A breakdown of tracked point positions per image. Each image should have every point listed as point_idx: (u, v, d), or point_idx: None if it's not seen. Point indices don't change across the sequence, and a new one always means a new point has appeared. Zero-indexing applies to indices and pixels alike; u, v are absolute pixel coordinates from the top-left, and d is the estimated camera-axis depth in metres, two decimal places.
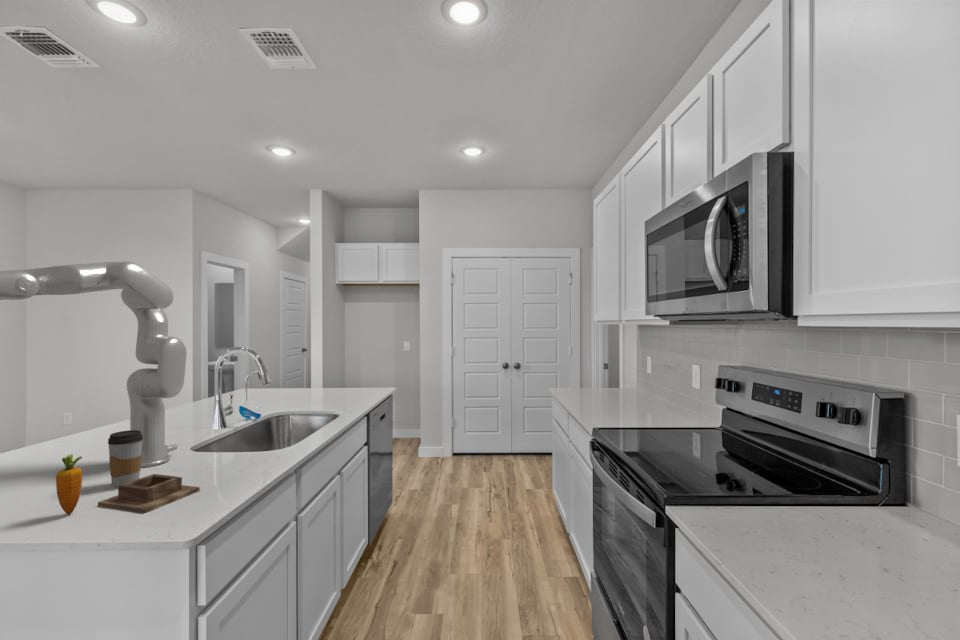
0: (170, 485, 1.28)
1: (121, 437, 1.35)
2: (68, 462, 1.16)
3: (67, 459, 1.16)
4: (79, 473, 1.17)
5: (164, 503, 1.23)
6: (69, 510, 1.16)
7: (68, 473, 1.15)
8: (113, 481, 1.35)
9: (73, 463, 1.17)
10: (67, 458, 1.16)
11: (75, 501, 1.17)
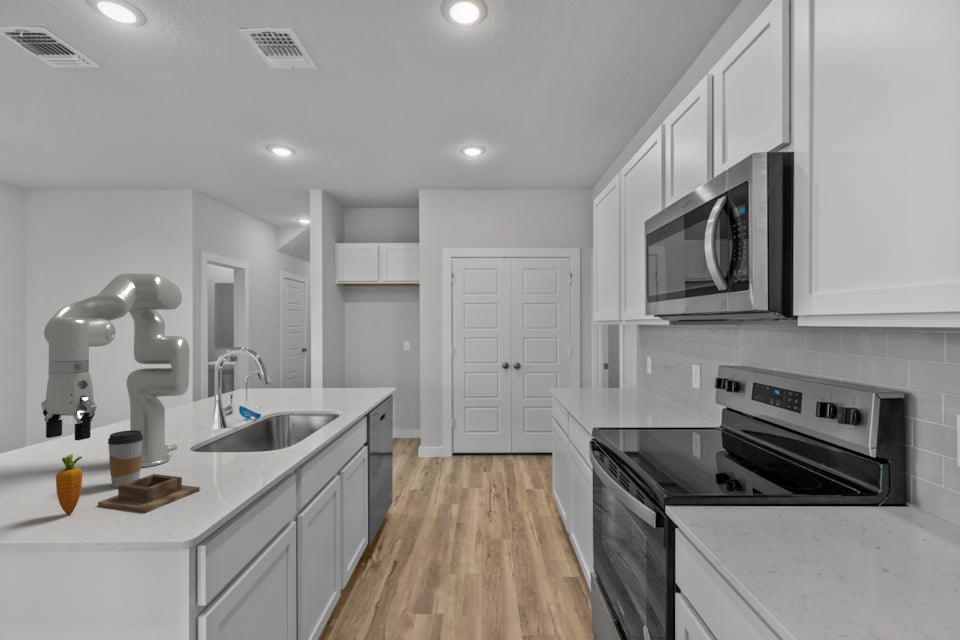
0: (170, 485, 1.28)
1: (121, 437, 1.35)
2: (68, 462, 1.16)
3: (67, 459, 1.16)
4: (79, 473, 1.17)
5: (164, 503, 1.23)
6: (69, 510, 1.16)
7: (69, 473, 1.15)
8: (113, 481, 1.35)
9: (73, 463, 1.17)
10: (67, 458, 1.16)
11: (75, 501, 1.17)
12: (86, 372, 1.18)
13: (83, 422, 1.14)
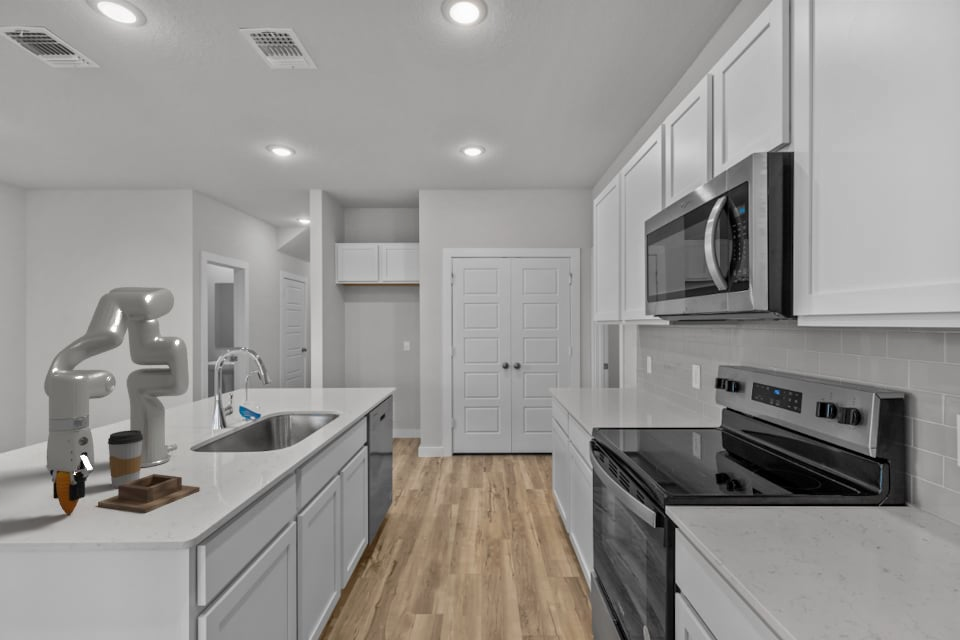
0: (170, 485, 1.28)
1: (121, 437, 1.35)
2: None
3: None
4: (79, 473, 1.17)
5: (164, 503, 1.23)
6: (69, 510, 1.16)
7: (68, 473, 1.15)
8: (113, 481, 1.35)
9: None
10: None
11: (75, 501, 1.17)
12: (86, 427, 1.18)
13: (77, 483, 1.15)
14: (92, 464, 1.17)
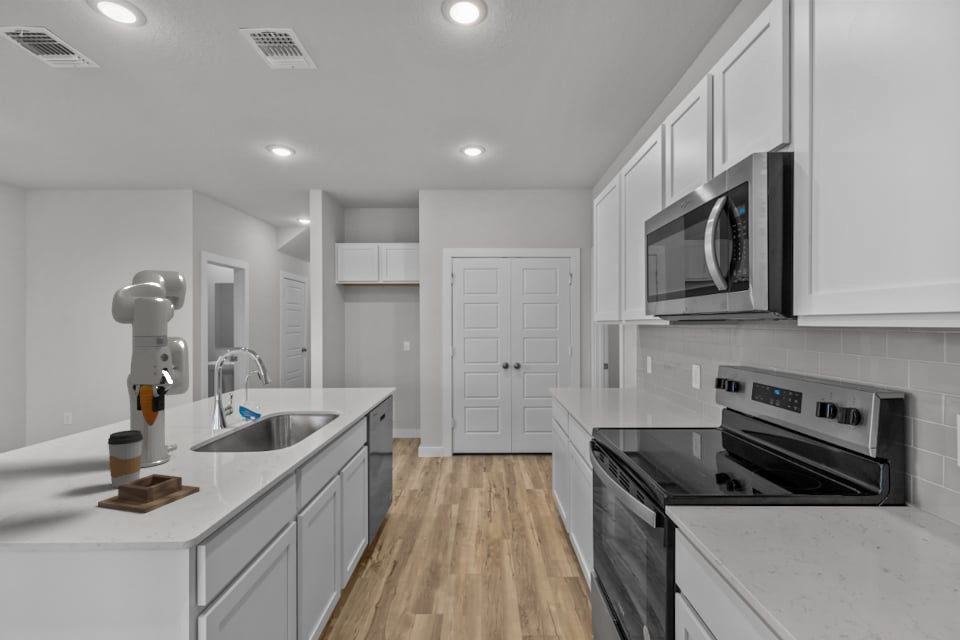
0: (170, 485, 1.28)
1: (121, 437, 1.35)
2: None
3: None
4: (159, 388, 1.28)
5: (164, 503, 1.23)
6: (151, 421, 1.27)
7: (151, 386, 1.26)
8: (113, 481, 1.35)
9: None
10: None
11: (156, 413, 1.28)
12: (166, 346, 1.29)
13: (159, 395, 1.26)
14: (171, 380, 1.28)
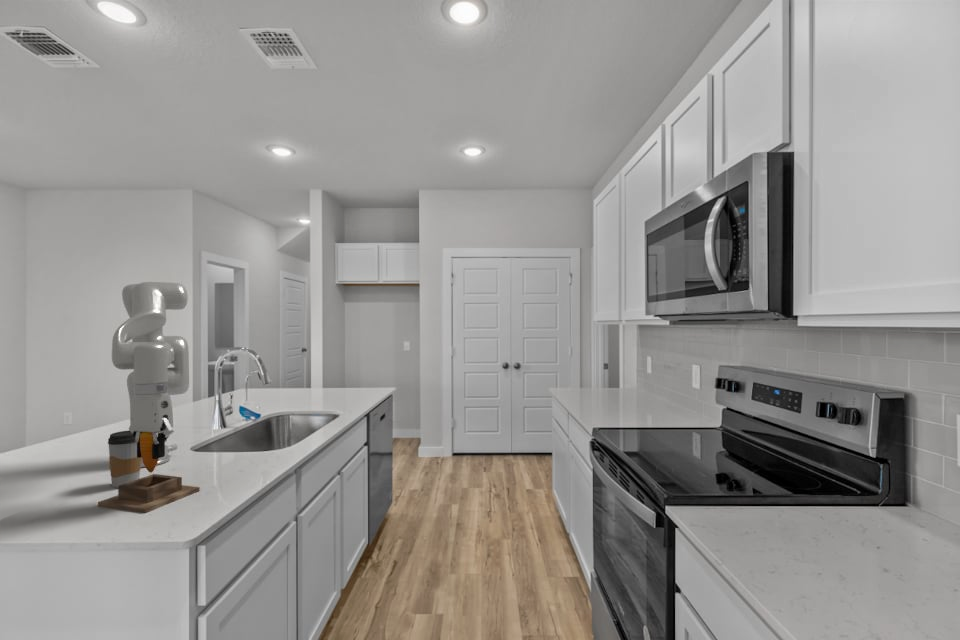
0: (170, 485, 1.28)
1: (121, 437, 1.35)
2: None
3: None
4: (159, 434, 1.28)
5: (164, 503, 1.23)
6: (151, 468, 1.27)
7: (151, 433, 1.26)
8: (113, 481, 1.35)
9: None
10: None
11: (156, 460, 1.28)
12: (166, 393, 1.29)
13: (159, 442, 1.26)
14: (171, 426, 1.28)
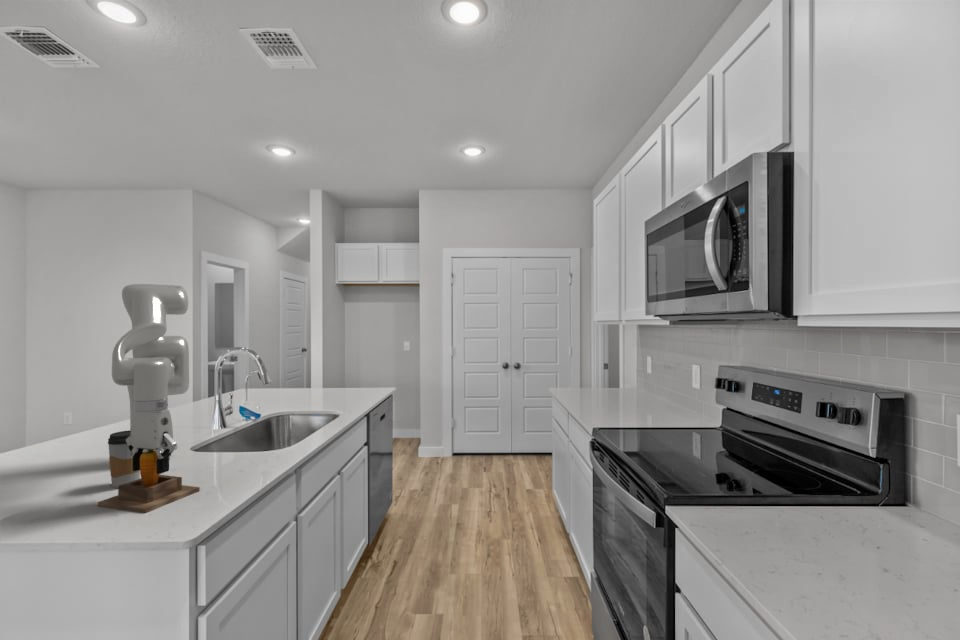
0: (170, 485, 1.28)
1: (121, 437, 1.35)
2: None
3: None
4: None
5: (164, 503, 1.23)
6: None
7: (151, 455, 1.27)
8: (113, 481, 1.35)
9: None
10: None
11: (156, 481, 1.28)
12: (166, 409, 1.29)
13: (164, 457, 1.26)
14: None
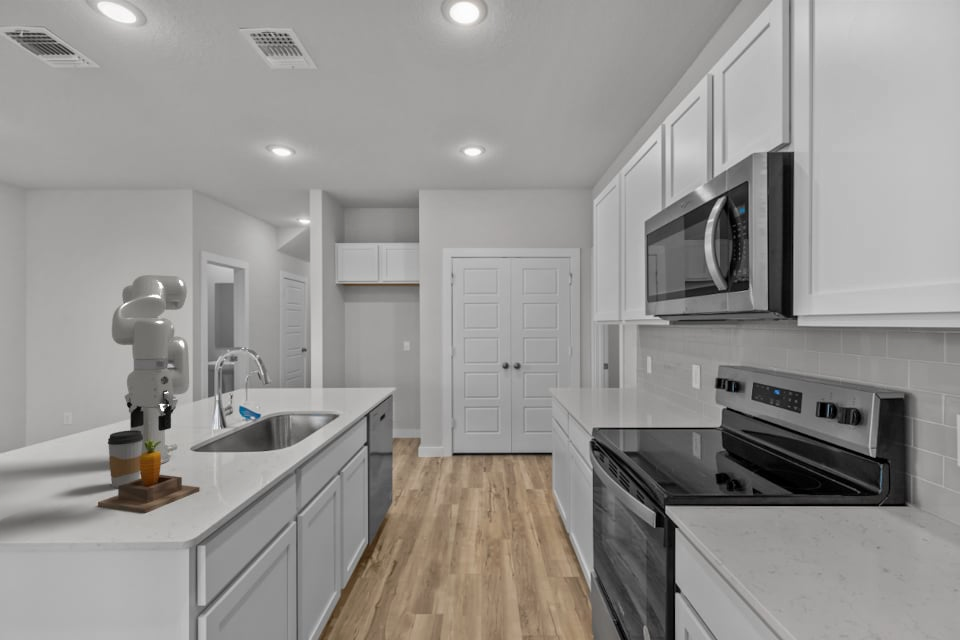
0: (170, 485, 1.28)
1: (121, 437, 1.35)
2: (150, 446, 1.27)
3: (150, 443, 1.27)
4: (159, 456, 1.28)
5: (164, 503, 1.23)
6: None
7: (151, 456, 1.26)
8: (113, 481, 1.35)
9: (154, 447, 1.28)
10: (150, 442, 1.27)
11: (156, 481, 1.28)
12: (166, 368, 1.29)
13: (166, 414, 1.26)
14: None
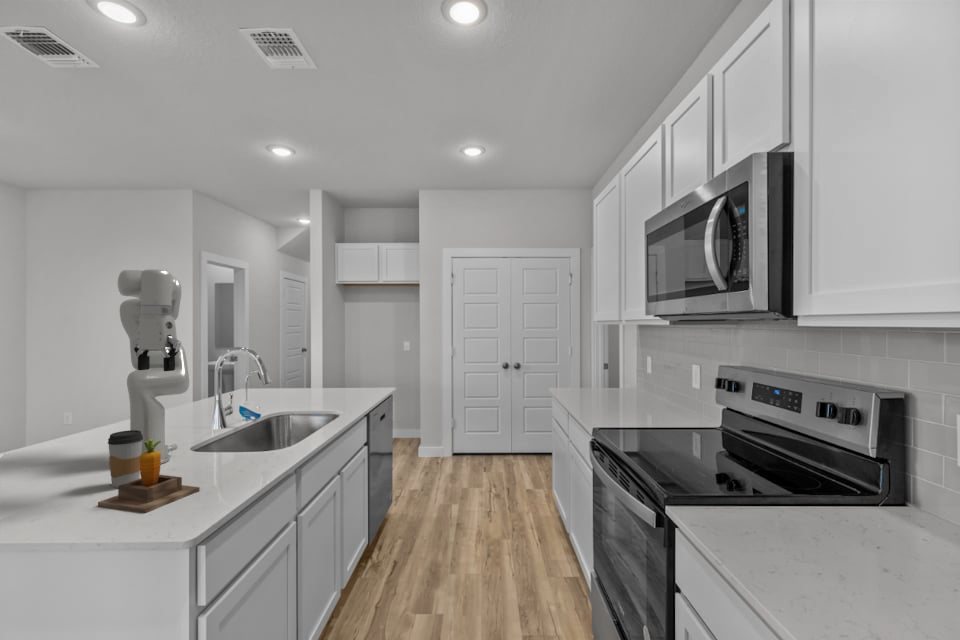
0: (170, 485, 1.28)
1: (121, 437, 1.35)
2: (150, 445, 1.28)
3: (149, 442, 1.27)
4: (159, 455, 1.29)
5: (164, 503, 1.23)
6: None
7: (151, 455, 1.27)
8: (113, 481, 1.35)
9: (153, 446, 1.29)
10: (150, 441, 1.27)
11: (156, 481, 1.28)
12: (170, 315, 1.40)
13: (170, 356, 1.37)
14: None
